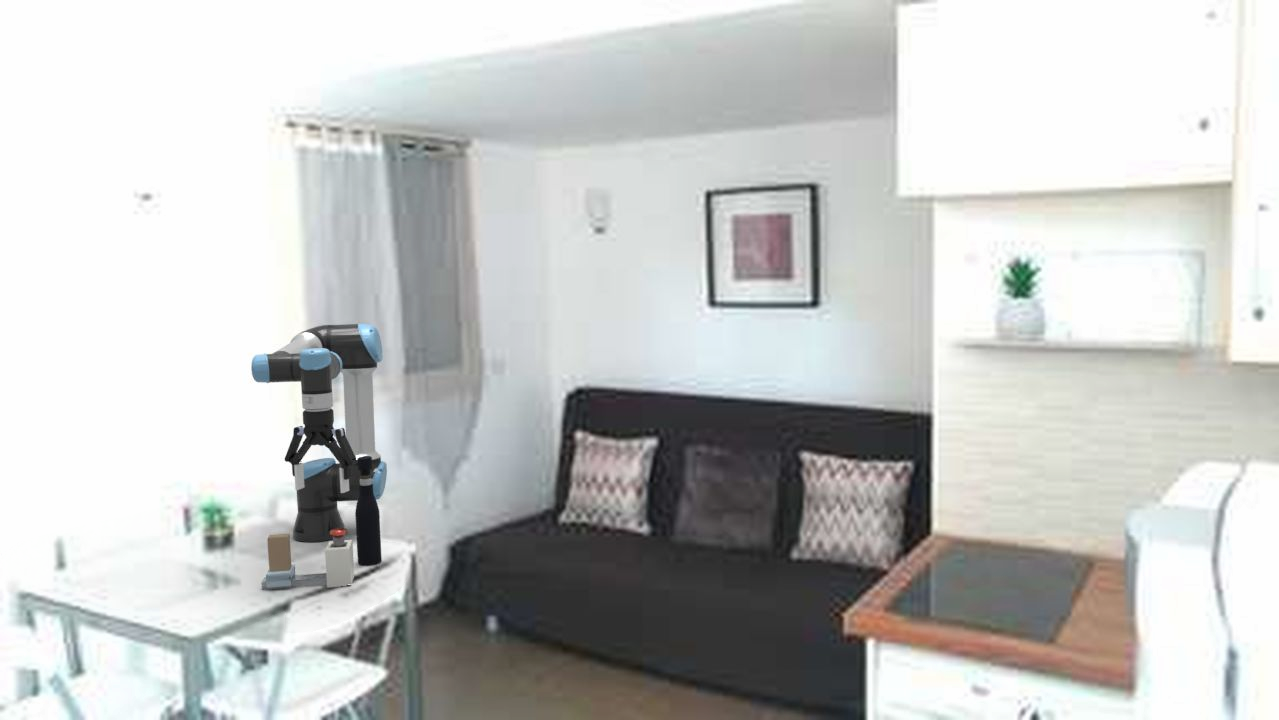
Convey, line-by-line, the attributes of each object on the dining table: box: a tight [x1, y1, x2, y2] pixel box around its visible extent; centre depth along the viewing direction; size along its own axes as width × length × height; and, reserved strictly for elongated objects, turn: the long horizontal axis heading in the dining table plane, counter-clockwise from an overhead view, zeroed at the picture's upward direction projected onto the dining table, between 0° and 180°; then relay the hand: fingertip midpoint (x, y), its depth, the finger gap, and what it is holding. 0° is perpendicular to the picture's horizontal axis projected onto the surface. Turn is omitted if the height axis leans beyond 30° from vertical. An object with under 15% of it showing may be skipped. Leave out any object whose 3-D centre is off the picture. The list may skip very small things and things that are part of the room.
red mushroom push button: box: [330, 527, 347, 547], centre depth 259 cm, size 4×4×7 cm
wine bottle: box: [354, 456, 383, 567], centre depth 274 cm, size 6×6×30 cm
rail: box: [261, 572, 327, 590], centre depth 258 cm, size 4×16×2 cm, turn 100°
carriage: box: [265, 533, 296, 588], centre depth 257 cm, size 7×6×12 cm
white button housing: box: [324, 539, 355, 589], centre depth 259 cm, size 8×6×10 cm
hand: (322, 490), depth 254 cm, fingers open, 13 cm apart
